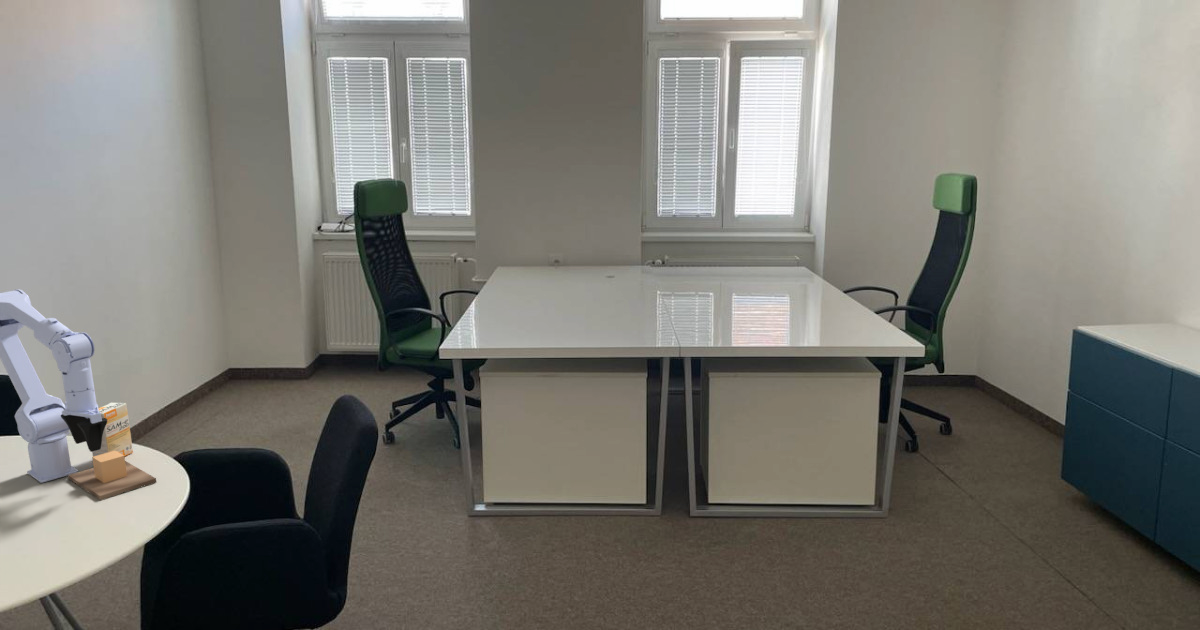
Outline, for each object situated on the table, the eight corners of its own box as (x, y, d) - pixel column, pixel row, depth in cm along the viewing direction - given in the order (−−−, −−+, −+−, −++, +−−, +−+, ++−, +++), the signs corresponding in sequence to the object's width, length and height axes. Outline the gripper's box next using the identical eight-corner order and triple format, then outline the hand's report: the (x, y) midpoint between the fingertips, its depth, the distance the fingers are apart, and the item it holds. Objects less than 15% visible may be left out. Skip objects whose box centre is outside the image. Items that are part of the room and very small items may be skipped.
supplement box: (110, 465, 215) (102, 413, 212) (93, 464, 215) (85, 412, 212) (134, 452, 222) (127, 402, 219) (117, 451, 223) (110, 401, 220)
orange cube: (95, 477, 205) (92, 456, 204) (118, 470, 209) (115, 450, 208) (104, 483, 202) (100, 462, 201) (127, 476, 206) (124, 455, 204)
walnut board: (68, 479, 207) (68, 475, 207) (122, 463, 216) (122, 459, 216) (100, 500, 195) (99, 495, 195) (156, 482, 204) (155, 478, 204)
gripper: (46, 386, 200) (56, 444, 203) (73, 399, 191) (82, 459, 194) (80, 379, 205) (89, 435, 208) (107, 391, 196) (116, 449, 199)
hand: (88, 446), depth 201 cm, fingers open, 7 cm apart
